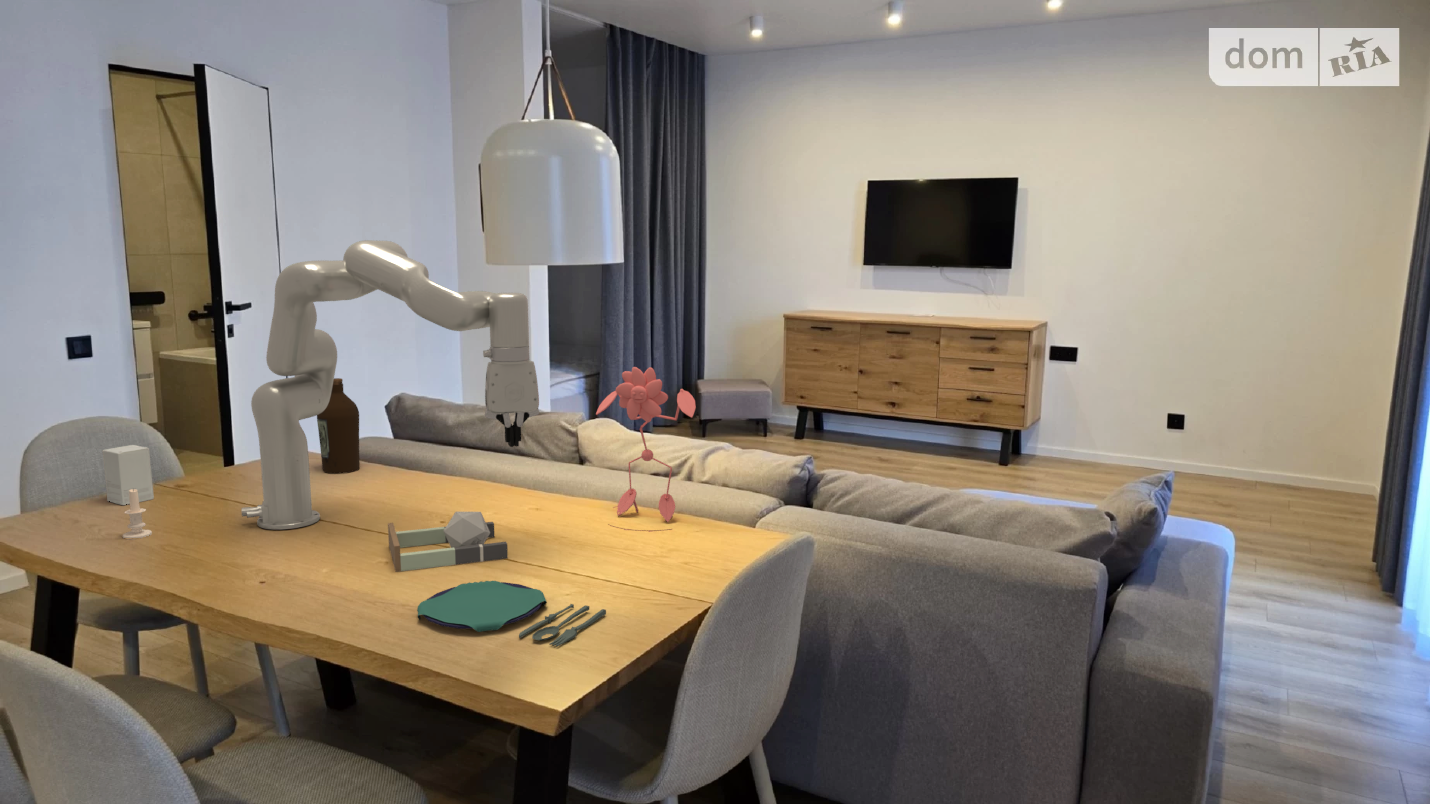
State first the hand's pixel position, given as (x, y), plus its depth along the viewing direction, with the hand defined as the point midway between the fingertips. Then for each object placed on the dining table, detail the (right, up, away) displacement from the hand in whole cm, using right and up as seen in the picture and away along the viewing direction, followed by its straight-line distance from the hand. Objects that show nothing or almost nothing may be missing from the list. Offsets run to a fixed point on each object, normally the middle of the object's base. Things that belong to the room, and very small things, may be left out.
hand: (513, 445), depth 188 cm
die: (-9, -21, 0) cm, 23 cm away
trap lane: (-13, -21, -2) cm, 25 cm away
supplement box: (-99, -15, +34) cm, 105 cm away
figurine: (+24, -18, +20) cm, 36 cm away
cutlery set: (+6, -28, -33) cm, 44 cm away
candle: (-80, -20, +7) cm, 83 cm away
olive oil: (-61, -10, +66) cm, 90 cm away
